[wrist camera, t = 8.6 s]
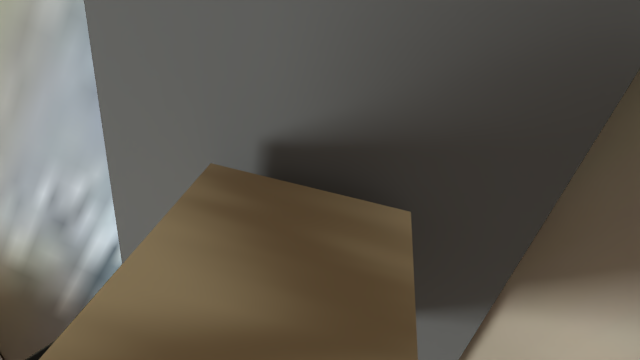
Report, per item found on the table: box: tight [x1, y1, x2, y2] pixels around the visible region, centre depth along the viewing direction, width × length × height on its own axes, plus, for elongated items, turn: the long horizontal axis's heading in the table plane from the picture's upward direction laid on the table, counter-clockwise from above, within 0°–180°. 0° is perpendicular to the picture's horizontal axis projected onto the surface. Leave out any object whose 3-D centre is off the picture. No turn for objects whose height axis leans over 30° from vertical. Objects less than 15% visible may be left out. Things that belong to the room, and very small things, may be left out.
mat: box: [84, 0, 640, 360], centre depth 12 cm, size 12×16×1 cm
